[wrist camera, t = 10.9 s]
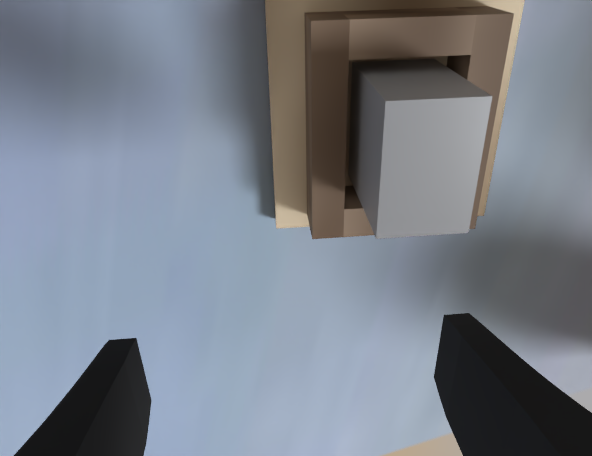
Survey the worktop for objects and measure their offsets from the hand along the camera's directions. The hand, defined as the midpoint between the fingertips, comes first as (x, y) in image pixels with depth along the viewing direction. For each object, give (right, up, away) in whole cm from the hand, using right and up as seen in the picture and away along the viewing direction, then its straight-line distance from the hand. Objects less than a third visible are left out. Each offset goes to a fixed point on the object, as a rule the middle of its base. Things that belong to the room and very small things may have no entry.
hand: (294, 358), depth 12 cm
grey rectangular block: (+4, +7, +7) cm, 11 cm away
